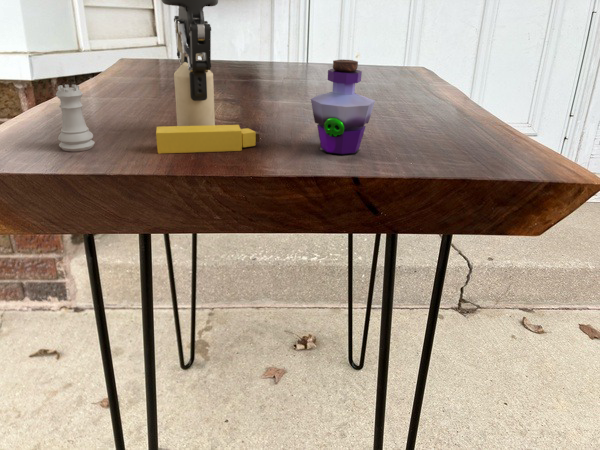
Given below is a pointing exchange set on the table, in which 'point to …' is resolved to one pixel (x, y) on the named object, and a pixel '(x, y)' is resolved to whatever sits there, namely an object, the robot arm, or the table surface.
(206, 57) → the robot arm
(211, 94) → the candle
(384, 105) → the table surface
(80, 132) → the rook chess piece
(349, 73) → the potion bottle
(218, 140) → the yellow highlighter marker
